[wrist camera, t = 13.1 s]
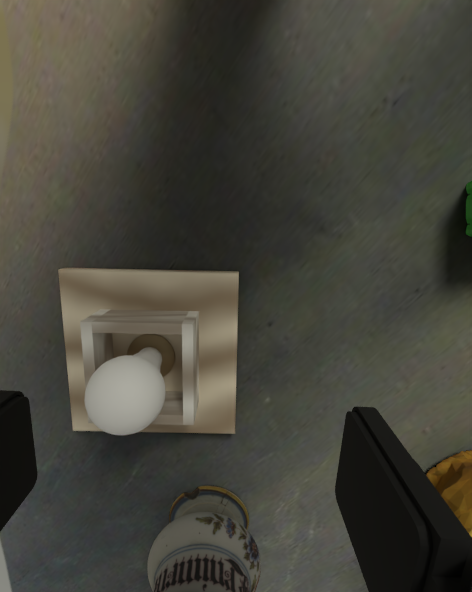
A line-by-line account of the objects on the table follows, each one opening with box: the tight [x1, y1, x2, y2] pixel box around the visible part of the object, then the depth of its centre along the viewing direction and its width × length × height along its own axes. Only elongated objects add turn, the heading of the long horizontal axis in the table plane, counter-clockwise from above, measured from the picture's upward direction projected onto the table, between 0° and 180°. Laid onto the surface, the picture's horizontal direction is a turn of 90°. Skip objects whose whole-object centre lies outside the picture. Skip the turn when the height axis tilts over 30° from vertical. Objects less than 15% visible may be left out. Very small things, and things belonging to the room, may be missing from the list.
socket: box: [58, 268, 239, 434], centre depth 32 cm, size 18×18×6 cm
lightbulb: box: [84, 347, 165, 435], centre depth 28 cm, size 6×6×11 cm
